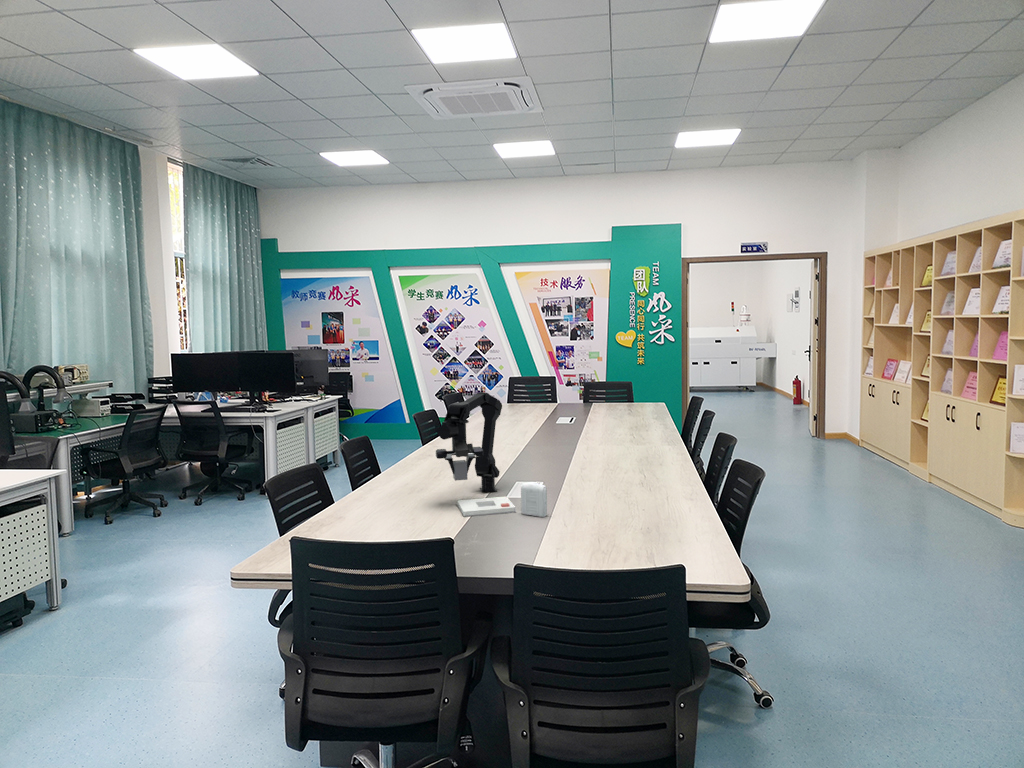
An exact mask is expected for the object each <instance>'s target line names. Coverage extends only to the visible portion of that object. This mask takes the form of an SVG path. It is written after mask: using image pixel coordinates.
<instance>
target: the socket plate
mask: <svg viewBox="0 0 1024 768" xmlns="http://www.w3.org/2000/svg"><path fill="white" fill-rule="evenodd" d="M457 507H458V509H459V511H460V512H461V513H460V514H461V515H462V517H463V518H466V517H476V516H477V517H478V516H479V517H480V516H488V515H489V516H490V515H499V514H500V515H501V513H502V514H511V513H512V512H514V513H517V512H516V510H517V509H516V506H515V505H514V503H513V502H512V501H511V500H510V498H508V496H497V497H485V498H483V497H482V498H473V499H471V498H470V499H460V500H457Z"/></svg>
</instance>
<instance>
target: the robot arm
mask: <svg viewBox="0 0 1024 768" xmlns="http://www.w3.org/2000/svg"><path fill="white" fill-rule="evenodd" d="M478 407H480V408H481V414H482V416H483V420H484V422H483V431H482V441H481V446H473V443H468V442H467V424H468V423H469V420H468V419H467V417H469V416H470V414H471V411H473V410H475V409H476V408H478ZM502 409H503V403H502V402H501V400H499V399H498V398H497V397H494V396H492V395H491V394H489V393H488V392H482V391H480V392H476V394H474V395H472V396H471V397H469V398H467V399H466V400H464V401H462V402H461V401H460V402H454V403H451V404H450V405H449V407H448V409H447V411H446V414H445V417H444V420H443V421H442V422H441V425H440V426H439V428H438V429H437V434H438V436H439V438H440V439H442V440H448V439H451V448H452V449H451V450H447V449H446V448H439V449H438V448H437V449H436V450H435V457H436V459H438V460H439V459H444V460H445V461H447V462H448V464H449V466H450V467H449V468H450V469H451V471H452V475H453V474H454V466H453V461H454V458H453V457H452V456H455V457H456V458H461V457H463V458H464V457H466V459H465V460H466V462H467V474H468V473H469V470H470V466H471V465H472V461H473V460H474V459H475V463H474V470H475V474H476V477H480V478H481V487H479V490H480V491H481V493H492V492H497V491H498V489H497V488H496V482H495V481H496V480H495V479H497V478H498V477H500V469H498V467H497V466H496V459H495V457H494V454H493V453H494V443H495V433H496V425H497V424H496V423H497V420H498V419H499V417H500V416H501V413H502Z"/></svg>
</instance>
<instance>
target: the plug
mask: <svg viewBox="0 0 1024 768" xmlns="http://www.w3.org/2000/svg"><path fill="white" fill-rule="evenodd" d="M453 466H454V474H453V473H452V475H453V477H452V478H453V479H454V481H466V480H468V473H467V462H466V459H458V460H453Z"/></svg>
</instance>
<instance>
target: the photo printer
mask: <svg viewBox="0 0 1024 768" xmlns="http://www.w3.org/2000/svg"><path fill="white" fill-rule="evenodd" d="M520 512H521V514H522V515H527V516H534V517H538V518H539V517H540V518H544V517H547V515H548V488H547V486H546V485H544V484H542V483H540V482H536V481H535V482H534V481H529V482H528V481H527V482H524V483H521V486H520Z"/></svg>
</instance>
